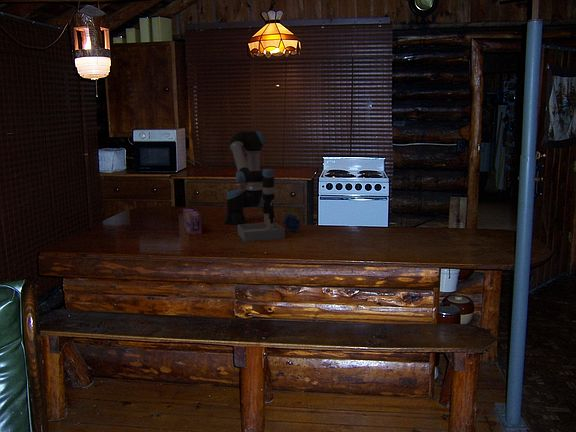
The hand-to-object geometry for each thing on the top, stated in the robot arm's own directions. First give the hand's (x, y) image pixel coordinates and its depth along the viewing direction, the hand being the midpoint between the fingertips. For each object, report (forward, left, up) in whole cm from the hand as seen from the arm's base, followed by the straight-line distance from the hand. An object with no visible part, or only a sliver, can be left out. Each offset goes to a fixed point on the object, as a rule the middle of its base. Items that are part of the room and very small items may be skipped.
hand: (268, 225), depth 371 cm
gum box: (-29, -46, -7) cm, 55 cm away
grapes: (-4, +17, -6) cm, 18 cm away
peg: (+1, 0, -6) cm, 6 cm away
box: (0, -5, -6) cm, 8 cm away
